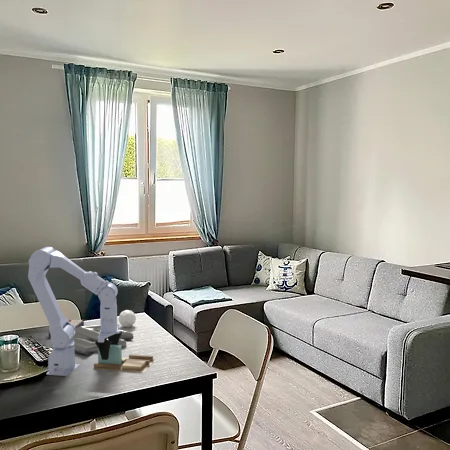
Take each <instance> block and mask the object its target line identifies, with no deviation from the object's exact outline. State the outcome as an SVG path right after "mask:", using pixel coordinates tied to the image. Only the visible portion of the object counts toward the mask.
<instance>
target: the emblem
mask: <svg viewBox="0 0 450 450" xmlns="http://www.w3.org/2000/svg"><path fill="white" fill-rule="evenodd" d="M75 330H76V333H75V336H74V337H73V341H74V346H75V353H77V354H81V355H82V356H83V355H84V356H92V355H94V354H95V353H98V347H97V345H96V344H95V340H97V339H98V336H99V334H100V330H101V324H99V325H84V326H83V327H77V328H75ZM119 330H120V331H122V335H121V337H120V339H119V343H118V345H121V347H122V349H123V348H126V347H127V342H129V341H132V340H133V339H134V334H133V333H132V332H129V331H127V330H122V329H119ZM107 340H108V337H107ZM108 341H109V340H108Z"/></svg>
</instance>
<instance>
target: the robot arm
mask: <svg viewBox="0 0 450 450" xmlns="http://www.w3.org/2000/svg"><path fill="white" fill-rule="evenodd" d="M50 268H51V269H53V268H54V269H55V268H60V269H61V270H63V271H65V272H67V273H68V274H70V275H72V276H74V277H75V278H76V279H78V280H79V281H80V285H81V286H83V287H84V288H85V289H87V290H89V292H91V293H93V294H94V295H95V296H98V300H99V301H100V306H99V308H100V309H99V310H100V311H99V312H100V313H99V314H100V315H99V316H100V325H101V330H100V334H99V336H98V339H97V340H95V344H96V345H97V347H98V349H99V351H100V355H101V358H102V360H108V358H109V350H110V346H111V345H118V343H119V339H120V337H121V335H122V331H120V330H121V329H120V323H119V324H118V305H117V302H118V301H117V295H118V294H119V292H118V291H119V290H118V287H117V285H116V284H115V283H114V282H110V281H109V280H107V279H106V280H105V279H104V278H102V277H100V275H98V272H96V271H90V270H89V271H86V270H84V269H83V268H81V267H80V266H79V265H78V264H76V263H75V262H73V261H72V259H70V258H68V257H67V256H66V255H64V254H63V253H62V252H61V251H60V250H56V248H53V247H52V246H44V247H42V248H40V249H38V250H35V251H33V253H32V254H31V256H30V257H29V259H28V274H27V278H28V281H29V283H30V285H31V288H32V289H33V291H34V294H35V296H36V298H37V301H38V302H39V305H40V306H41V309H42V310H43V313H44V315H45V317H46V319H47V321H48V324H49V326H48V333H49V332H50V334H51V337H50V343H51V345H52V349H51V352H50V353H49V355H48V357H47V361H48V362H47V364H48V365H47V366H48V371H47V372H46V375H47V376H61V377H67V376H69V375H70V374H71V373H72V372H73V371H75V369H77V368H78V367H79V366H80V364H79V363H76V352H75V346H74V341H73V337H74V336H75V333H76V330H75V327H74V326H73V325H72V324H71V323H70V322H69V321H68V320H69V319H68V318H67V316H64V314H63V312H62V310H61V307H60V305H59V303H58V301H57V298H56V297H55V293H54V292H53V290H52V288H51V285H50V284H49V281H48V279H47V277H46V275H47V273H48V271H49V269H50ZM107 337H108V340H109V341H108V340H107Z"/></svg>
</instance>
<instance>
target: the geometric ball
mask: <svg viewBox="0 0 450 450" xmlns="http://www.w3.org/2000/svg"><path fill="white" fill-rule="evenodd" d="M136 319H137V317H136V314H135V312H133V310H131V309H130V310H129V309H125V310H123V311H121V312H120V314H119V315H118V322H119V325H120V326H122V327H124V328H130V327H132V326H133V325H134V324H135V323H136Z"/></svg>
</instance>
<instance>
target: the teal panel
mask: <svg viewBox="0 0 450 450" xmlns="http://www.w3.org/2000/svg"><path fill="white" fill-rule="evenodd" d="M122 349H123V348H122V347H121V345H111V346H110V350H109V358H108V360H102V358H101V355H100V351H99V349H98V352H97V363H106V364H121V366H122V355H123V354H122Z"/></svg>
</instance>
